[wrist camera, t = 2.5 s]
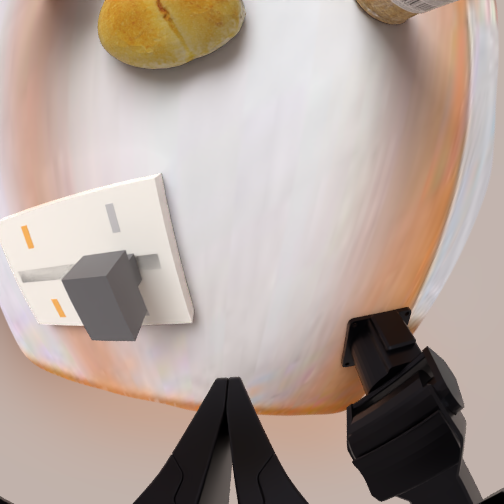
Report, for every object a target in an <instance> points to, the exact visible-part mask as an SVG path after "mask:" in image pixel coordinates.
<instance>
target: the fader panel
mask: <svg viewBox="0 0 504 504" xmlns="http://www.w3.org/2000/svg"><path fill="white" fill-rule="evenodd" d="M0 243H1V245H2V248H3V251H4V253H5V256H6V258H7V261H8V263H9V266H10V268H11V270H12V273H13V275H14V277H15V279H16V281H17V283H18V286H19V288H20V290H21V292H22V294H23V296H24V298H25V300H26V302H27V303H28V305H29V307H30V309H31V311H32V313H33V314H34V316H35V318H36V320H37V321H38V323H39V324H46V325H74V326H84V325H83V323H82V321H81V320H80V318H79V316H78V314H77V312H76V310H75V308H74V306H73V304H72V302H71V300H70V298H69V296H68V294H67V292H66V290H65V287H64V285H63V283H62V281H61V280H62V279H63V277H64V276H65V275H66V274H67V273H68V272H69V271H70V270H71V269H72V267H73V266H74V265H75V264H76V263H77V262H78V261H79V260H80V259H81V258H82V257H83V256H86V255H93V254H100V253H107V252H114V251H121V250H126V253H127V254H134V256H135V259H136V262H137V265H138V268H139V271H140V274H141V277H142V281H141V283H140V284H139V286H138V288H139V290H140V293H141V296H142V298H143V301H144V304H145V306H146V309H147V313H146V315H145V318H144V320H143V323H142V325H163V324H183V323H192V320H193V315H194V307H193V304H192V300H191V297H190V293H189V290H188V286H187V282H186V279H185V275H184V271H183V267H182V263H181V260H180V256H179V252H178V248H177V243H176V239H175V235H174V231H173V226H172V222H171V218H170V213H169V208H168V204H167V199H166V194H165V189H164V184H163V179H162V174H161V173H160V174H155V175H150V176H145V177H141V178H136V179H132V180H127V181H123V182H118V183H114V184H110V185H106V186H102V187H98V188H94V189H91V190H87V191H83V192H80V193H76V194H73V195H69V196H66V197H63V198H59V199H56V200H53V201H50V202H47V203H44V204H41V205H38V206H35V207H32V208H29V209H26V210H23V211H20V212H18V213H15V214H12V215H10V216H7V217H4V218H3V219H1V220H0Z"/></svg>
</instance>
